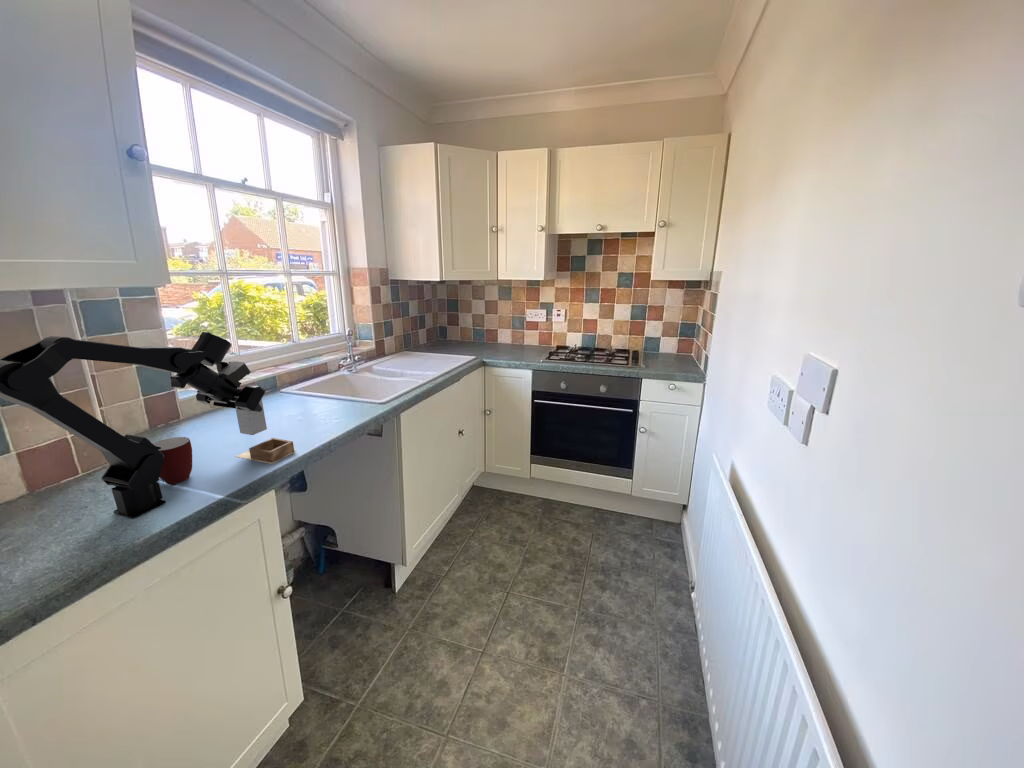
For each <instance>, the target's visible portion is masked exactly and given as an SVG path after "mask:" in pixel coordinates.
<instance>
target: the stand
mask: <svg viewBox="0 0 1024 768" xmlns="http://www.w3.org/2000/svg"><path fill="white" fill-rule="evenodd" d="M293 441H294V440H287V439H281V438H276V437H271V438H269V439H266V440H265V441H262V442H260V443H258V444H255V445H254V446H251V447H249V448H248V450H246V451H244V452H242V453H240V454H236V455H235V456H234V457H235V458H241V459H245V460H250V461H255V462H260V463H265V464H270V465H272V464H274V463H276V462H278V461H280V460H282V459H284V458H286V457H289V456H290V455H291V454H293V453H296V452H297V450H295V447H294V442H293Z"/></svg>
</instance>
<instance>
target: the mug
mask: <svg viewBox="0 0 1024 768" xmlns="http://www.w3.org/2000/svg"><path fill="white" fill-rule="evenodd" d="M151 443H152V444H153V445H155V446H157V447H161V449H159V451H161V452H162V453H163V455H164V458H163V464H162V466H161V471H160V477H159V479H161V480H162V481H163V482H164V483H165V484H167V485H169V486H177V485H178V484H179V483H182V482H184V481H186V480H187V479H189V478H190V475H191V473H192V471H193V470H192V469H193V448H192V443H191V439H190V438H189V437H186V436H175V437H169V438H165V439H159V440H158V441H155V442H151Z"/></svg>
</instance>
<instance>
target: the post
mask: <svg viewBox="0 0 1024 768" xmlns="http://www.w3.org/2000/svg"><path fill="white" fill-rule="evenodd" d="M237 399H238V398H237ZM262 399H263V398H262ZM262 399H261V400H260V402H259V404H260V406H261V407H262V410H261V412H257V411H248V410H240V409H237V408H238V407H237V403H236V402H234V403H235V408H234V409H235V412H236V419H237V424H238V429H239V433H240V434H243V435H249V436H255V435H256V434H259V433H261V432H264V431H266V430H267V429H268V428H267V422H266V417H265V415H266V414H265V410H264V404H263V400H262ZM236 401H237V400H236Z"/></svg>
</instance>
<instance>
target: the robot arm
mask: <svg viewBox="0 0 1024 768" xmlns="http://www.w3.org/2000/svg"><path fill="white" fill-rule="evenodd" d="M231 347H232V343H231V342H230V341H229V340H228V339H226V338H222V337H221V336H218V335H214V334H213V333H211V332H210V331H201V333H200V335H199V337H198V339H197V341H196V342H195V344H194V345H193V347H192V348H191V349H189V348H183V347H178V346H165V345H152V346H151V345H149V346H131V345H130V346H129V345H124V344H123V345H121V344H113V343H107V342H99V341H89V340H83V339H82V340H81V339H76V338H73V337H67V336H58V335H57V336H56V335H54V336H48V337H47V336H46V337H45V338H43V339H42V340H39V341H37V342H36V343H34V344H32V345H29V346H26V347H24V348H22V349H19V350H16V351H13V352H11V353H9V354H7V355H5V356H3V357H1V358H0V399H1V400H4V401H6V402H10V403H12V404H15V405H18V406H20V407H23V408H24V407H25V408H27V409H29V410H31V411H33V412H35V413H37V414H38V415H40V416H42V417H43V418H45V419H47V420H49V421H50V422H52V423H53V424H55V425H56V426H58V427H60V428H62V429H63V430H65V431H67V432H69V434H72V435H73V436H75V437H77V438H78V439H80V440H81V441H83V442H85V443H87V445H90V446H92V447H93V448H95V449H97V450H99V451H100V452H101V454H102V455H103V457H104V459H105V460H106V461H107V462H108V463H109V464H110V465H109V466H108V468H107V469H106V471H105V472H104V473H103V475H102V477H101V480H102V481H103V483H105V484H106V485H107V486H113V487H112V488H111V492H112V493H111V494H112V497H113V498H114V503H115V505H116V509H114V510H113V512H112V513H113V514H114V515H117V516H120V517H121V516H122V517H125V518H129V519H131V520H133V519H136V518H138V517H141V516H142V515H144V514H146V513H148V512H151V511H153V510H154V509H157V508H159V507H161V506H163V505H165V504H166V503H167V501H166V500H165V499H163V494H162V490H161V486H160V484H159V480H160V471H161V466H162V464H163V458H164V455H163V453H162V452H161V451H159V449H161V447H157V446H155V445H153V444H152V443H153V442H151V441H150V440H149V439H148V438H146V437H144V436H138V435H132V434H125V435H124V436H123V435H122V434H121V433H119V432H118V431H116V430H114V429H113V428H111V427H110V426H108V425H107V424H106V423H104V422H102V421H101V420H100V419H98V418H96V417H95V416H94V415H92V414H90V413H89V412H87V411H86V410H84V409H82V408H81V407H79V406H78V405H77V404H75V403H73V402H72V401H70V400H69V399H68V398H66V397H64V396H63V395H62V394H61V393H60V392H59V391H58V389H57V388H56V386H55V384H54V383H53V381H51V379H50V378H51V377H53V376H55V375H57V374H58V373H59V371H61V370H62V369H63V368H64V367H65V366H66V364H68V362H70V361H72V360H85V361H97V362H108V363H117V364H129V365H135V366H138V367H142V368H144V369H145V368H146V369H149V370H152V371H157V372H158V371H159V372H165V373H175V375H172V376H170V377H169V378H170V386H171V388H176V389H177V388H178V389H185V387H186V386H189V387H191V388H193V389H195V390H196V395H195V398H196V401H197V402H199V403H201V404H204V405H211V404H212V402H213V406H215V407H222V408H227V409H228V408H229V409H236V408H235V403H234V402H236V403H237V407H238V408H237V409H240V410H248V411H257V412H261V410H262V407H261V406H260V404H259V402H260V400H261V399H263V396H264V395H265V394H266V389H265V388H263V387H261V386H259V385H252V384H251V385H250V384H249V385H245V386H244V387H243V388H240V387H241V385H242V382H241V381H242V380H243V379H244V378H245V377H247V376H248V375H250V374H251V370H250V369H249V366H248V365H247V364H246V363H245V361H238V360H237V361H235V360H233V361H228V362H226V361H223V360H224V359H225V357H226V355H227V354H228V352H229V350H230V349H231ZM214 365H216V371H217V372H216V371H214V370H213V369H212V368H210V367H214ZM237 398H238V399H237ZM236 400H237V401H236Z"/></svg>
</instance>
